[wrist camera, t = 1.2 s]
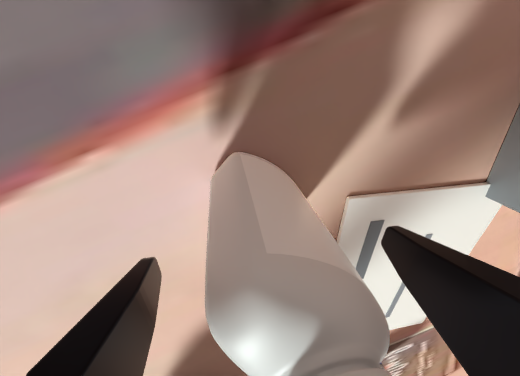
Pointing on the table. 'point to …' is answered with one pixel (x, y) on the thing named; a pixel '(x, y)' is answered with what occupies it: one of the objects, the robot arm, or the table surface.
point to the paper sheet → (418, 221)
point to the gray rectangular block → (507, 169)
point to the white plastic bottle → (284, 281)
